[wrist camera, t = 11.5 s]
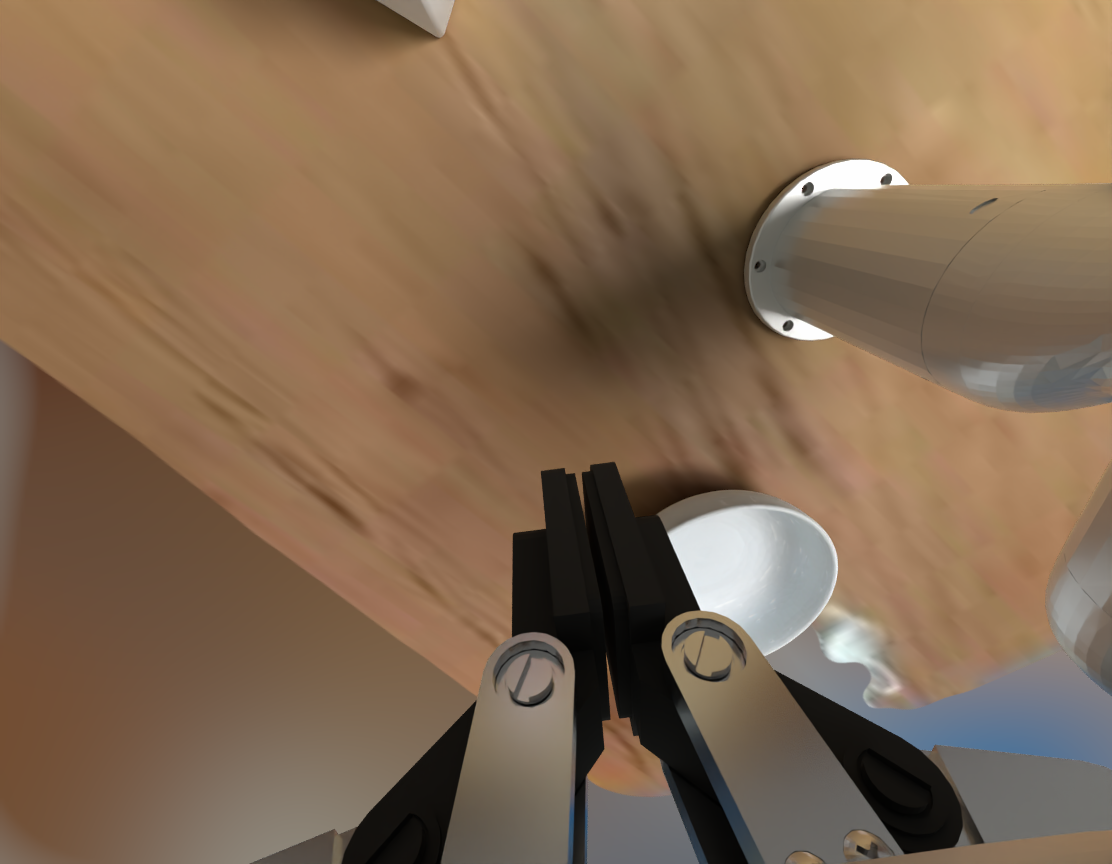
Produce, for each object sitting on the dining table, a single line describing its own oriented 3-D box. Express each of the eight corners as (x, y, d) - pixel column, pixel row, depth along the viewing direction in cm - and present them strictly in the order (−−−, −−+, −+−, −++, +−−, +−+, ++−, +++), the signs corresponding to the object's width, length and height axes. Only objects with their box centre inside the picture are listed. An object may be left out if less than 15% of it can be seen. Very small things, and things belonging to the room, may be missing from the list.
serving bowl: (774, 611, 54) (806, 665, 48) (596, 622, 52) (606, 679, 46) (824, 458, 44) (873, 502, 38) (606, 466, 43) (622, 513, 37)
